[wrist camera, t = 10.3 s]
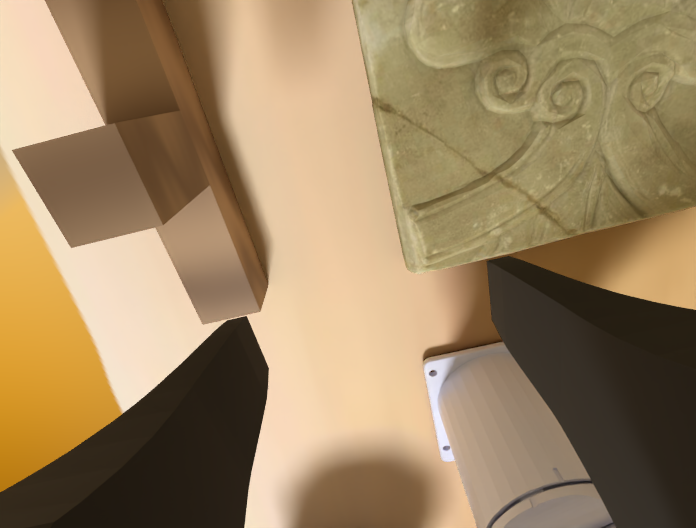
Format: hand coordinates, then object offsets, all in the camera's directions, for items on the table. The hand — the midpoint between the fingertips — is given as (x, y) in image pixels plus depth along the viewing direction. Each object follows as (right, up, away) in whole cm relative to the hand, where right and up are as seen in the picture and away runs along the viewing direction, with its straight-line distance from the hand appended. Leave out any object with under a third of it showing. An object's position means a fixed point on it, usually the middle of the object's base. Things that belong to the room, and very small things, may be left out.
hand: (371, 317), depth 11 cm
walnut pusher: (-8, +7, +7) cm, 13 cm away
